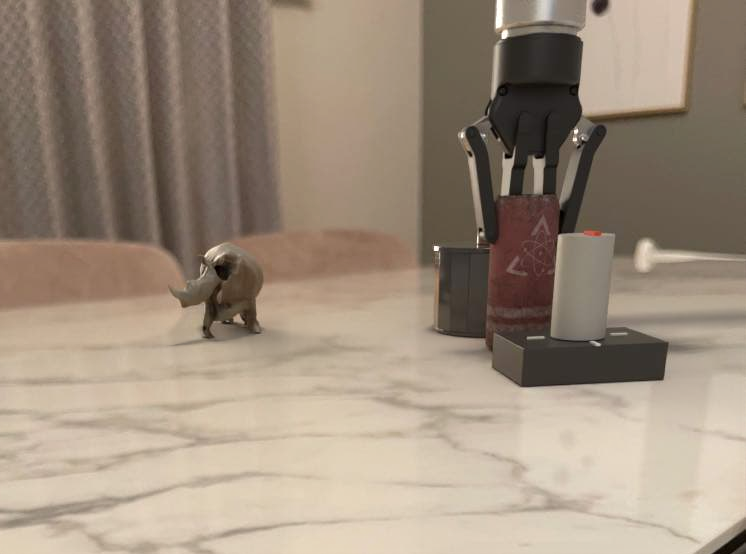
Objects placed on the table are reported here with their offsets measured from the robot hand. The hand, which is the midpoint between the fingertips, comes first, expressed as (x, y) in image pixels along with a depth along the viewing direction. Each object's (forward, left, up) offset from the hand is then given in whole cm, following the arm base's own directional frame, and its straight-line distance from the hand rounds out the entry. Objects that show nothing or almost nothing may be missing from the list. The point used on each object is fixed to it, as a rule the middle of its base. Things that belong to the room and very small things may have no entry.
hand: (519, 320), depth 81 cm
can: (0, 0, -3) cm, 3 cm away
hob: (-1, +12, -3) cm, 12 cm away
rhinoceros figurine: (+28, -17, -3) cm, 33 cm away
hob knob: (-1, +11, 0) cm, 12 cm away
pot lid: (0, -12, +6) cm, 14 cm away
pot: (0, -12, -3) cm, 13 cm away
